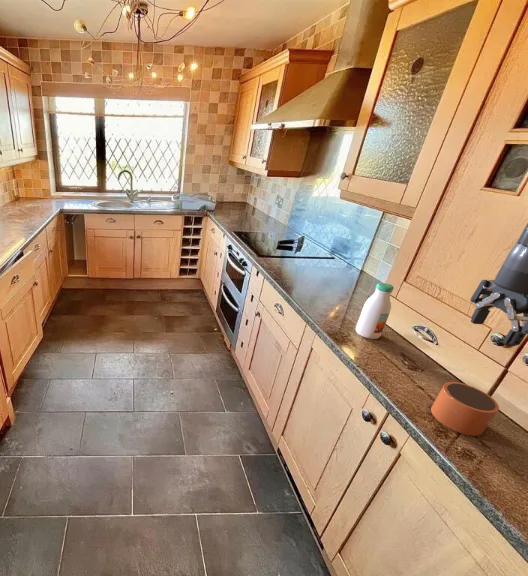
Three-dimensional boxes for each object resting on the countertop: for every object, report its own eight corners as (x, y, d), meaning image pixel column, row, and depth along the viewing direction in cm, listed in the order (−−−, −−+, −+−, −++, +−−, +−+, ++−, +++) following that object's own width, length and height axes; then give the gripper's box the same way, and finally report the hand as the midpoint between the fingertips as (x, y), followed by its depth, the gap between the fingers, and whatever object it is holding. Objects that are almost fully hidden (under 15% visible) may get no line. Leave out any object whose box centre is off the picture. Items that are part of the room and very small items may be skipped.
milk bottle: (362, 339, 110) (381, 290, 102) (350, 327, 117) (367, 280, 108) (385, 339, 110) (405, 290, 101) (371, 327, 117) (389, 280, 108)
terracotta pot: (482, 418, 80) (498, 395, 76) (483, 443, 73) (500, 419, 70) (432, 398, 86) (444, 376, 82) (429, 419, 80) (442, 397, 76)
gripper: (593, 283, 55) (542, 355, 62) (519, 255, 68) (484, 317, 75) (544, 281, 56) (500, 352, 63) (480, 254, 69) (449, 316, 76)
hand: (491, 333), depth 69 cm, fingers open, 8 cm apart
